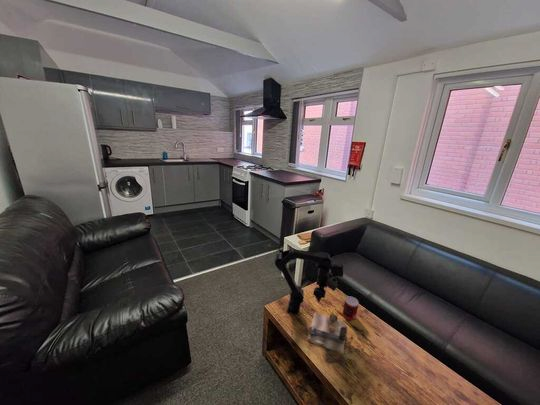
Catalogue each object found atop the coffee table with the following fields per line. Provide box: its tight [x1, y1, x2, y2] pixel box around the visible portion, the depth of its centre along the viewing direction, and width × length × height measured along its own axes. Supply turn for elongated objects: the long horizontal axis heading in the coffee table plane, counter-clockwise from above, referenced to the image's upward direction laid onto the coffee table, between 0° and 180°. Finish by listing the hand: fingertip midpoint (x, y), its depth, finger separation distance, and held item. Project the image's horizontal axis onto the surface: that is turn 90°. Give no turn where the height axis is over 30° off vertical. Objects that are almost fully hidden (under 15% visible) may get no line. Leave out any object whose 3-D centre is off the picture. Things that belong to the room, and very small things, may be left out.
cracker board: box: [307, 312, 347, 355], centre depth 119 cm, size 18×19×5 cm
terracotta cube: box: [329, 325, 335, 332], centre depth 118 cm, size 3×2×2 cm, turn 68°
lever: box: [308, 326, 348, 344], centre depth 113 cm, size 18×4×8 cm, turn 72°
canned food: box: [342, 295, 359, 322], centre depth 130 cm, size 8×8×11 cm
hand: (319, 296), depth 128 cm, fingers open, 9 cm apart
